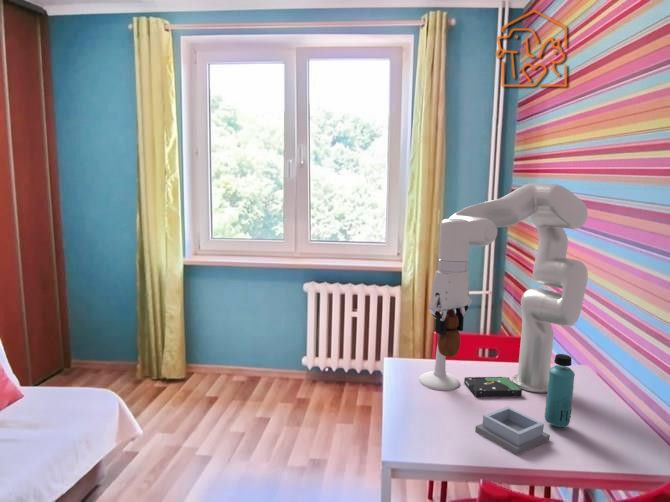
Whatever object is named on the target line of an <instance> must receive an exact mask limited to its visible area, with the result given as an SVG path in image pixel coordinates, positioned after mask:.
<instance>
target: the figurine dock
mask: <svg viewBox="0 0 670 502" xmlns="http://www.w3.org/2000/svg"><path fill="white" fill-rule="evenodd" d="M544 427H545V424H544V422H543V423H542V422H541V421H539V420H537V419H534V418H532V417H531V416H529V415H526V414H525V413H523V412H520V411H518V410H517V409H514V408H512V407H510V406H505V407H503V408H500V409H497V410H494V411H492V412H488V413H485V414H484V415H483V417H482V423H480V424H477V425H475V429H474V430H475V433H477V434H480V435H481V436H483V437H485V438H486V439H487V440H490V441H492V442H493V443H495V444H497V445H499V446H501V447H502V448H504V449H506V450H508V451H509V452H511V453H512V454H514V455H516V456H519V455H521V454H523V453H525V452H527V451H530V450H531V449H533V448H536V447H538V446H540V445H543V444H544V443H547V442H549V441H550V438H551V437H550V434H549V433H547V432H545V431H544V429H545V428H544Z"/></svg>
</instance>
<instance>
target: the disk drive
mask: <svg viewBox="0 0 670 502" xmlns="http://www.w3.org/2000/svg"><path fill="white" fill-rule="evenodd" d="M463 379H464V381H463V382H464V383H463V384H464V385H465V386H466V388H467V389H468V390H469V391H470V393H471V394H472V395H473V396H474V398H521V397H522V395H523V394H522V393H523V389H521V388H519V387H518V386H517V384H515V383H513V381H512V379H510V377H506V376H477V377H476V376H475V377H474V376H472V377H471V376H466V377H464V378H463Z"/></svg>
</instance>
